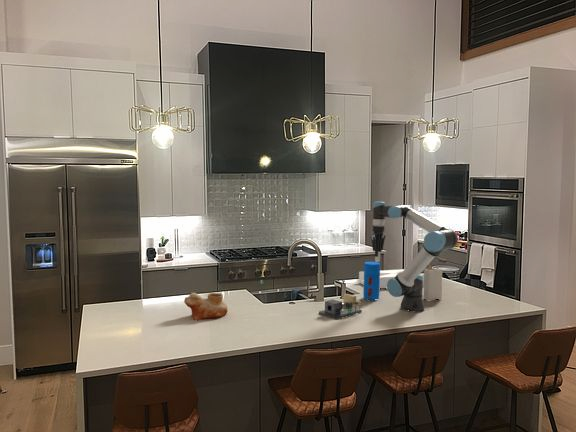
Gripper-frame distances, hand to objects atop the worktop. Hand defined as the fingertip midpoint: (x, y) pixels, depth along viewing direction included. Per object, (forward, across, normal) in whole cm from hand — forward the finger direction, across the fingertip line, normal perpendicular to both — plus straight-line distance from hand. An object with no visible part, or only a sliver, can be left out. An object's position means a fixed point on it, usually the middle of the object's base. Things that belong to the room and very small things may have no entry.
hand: (377, 261), depth 344 cm
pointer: (+26, +31, +4) cm, 41 cm away
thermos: (+30, -11, -13) cm, 34 cm away
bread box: (+30, -57, -30) cm, 71 cm away
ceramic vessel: (+30, +99, -50) cm, 115 cm away
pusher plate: (+27, +30, -1) cm, 40 cm away
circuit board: (+29, +32, -3) cm, 43 cm away
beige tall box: (+30, -42, +15) cm, 54 cm away
